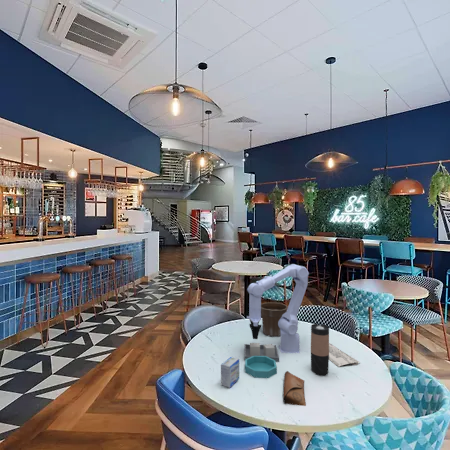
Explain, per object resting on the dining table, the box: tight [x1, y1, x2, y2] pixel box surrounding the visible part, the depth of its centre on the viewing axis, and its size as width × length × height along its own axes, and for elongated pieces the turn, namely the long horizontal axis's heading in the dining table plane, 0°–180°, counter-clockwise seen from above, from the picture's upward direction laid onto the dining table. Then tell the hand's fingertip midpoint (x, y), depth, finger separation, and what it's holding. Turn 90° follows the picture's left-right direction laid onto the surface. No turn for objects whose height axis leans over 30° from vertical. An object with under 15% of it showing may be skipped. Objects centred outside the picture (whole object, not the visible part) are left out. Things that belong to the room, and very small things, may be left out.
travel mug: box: [310, 323, 330, 377], centre depth 126 cm, size 8×8×20 cm
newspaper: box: [329, 342, 360, 368], centre depth 142 cm, size 23×12×2 cm, turn 14°
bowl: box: [244, 356, 278, 379], centre depth 126 cm, size 14×14×3 cm
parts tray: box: [244, 343, 280, 363], centre depth 140 cm, size 16×13×2 cm
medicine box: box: [220, 356, 240, 389], centre depth 117 cm, size 8×4×9 cm, turn 148°
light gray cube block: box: [263, 343, 275, 357], centre depth 140 cm, size 4×4×4 cm
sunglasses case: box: [282, 370, 307, 407], centre depth 112 cm, size 18×7×7 cm, turn 168°
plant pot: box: [261, 302, 288, 338], centre depth 169 cm, size 16×16×16 cm
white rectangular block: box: [249, 342, 261, 356], centre depth 140 cm, size 5×4×5 cm
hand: (254, 335), depth 140 cm, fingers open, 7 cm apart
